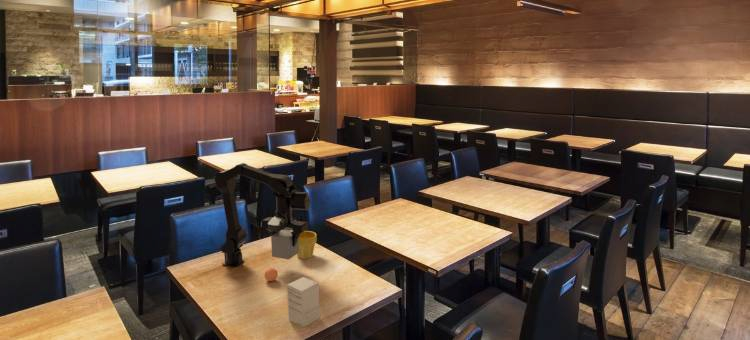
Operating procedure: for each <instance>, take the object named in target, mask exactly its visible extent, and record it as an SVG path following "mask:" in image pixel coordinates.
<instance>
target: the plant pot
mask: <svg viewBox="0 0 750 340" xmlns="http://www.w3.org/2000/svg"><path fill="white" fill-rule="evenodd" d="M317 236H318V235H317V233H316V232H314V231H310V230H306V231H304V232H302V233H301V234H300V236H299V238H298V240H299V253H297V254H296V256H297V259H301V260H306V259H307V258H308V259H310V258H312V257H313V255H314V251H315V245H316V243H317V242H318V241H317V240H318V239H317V238H318V237H317Z"/></svg>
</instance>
